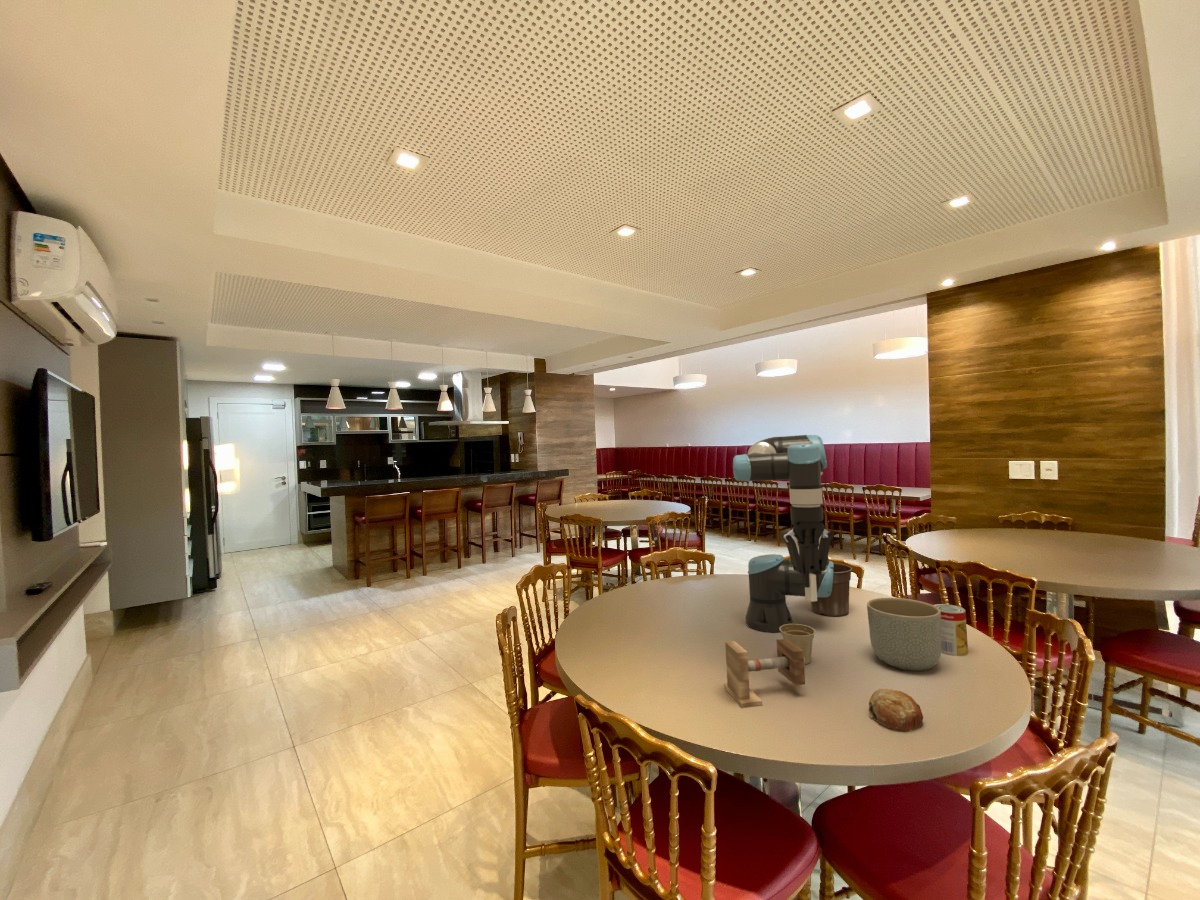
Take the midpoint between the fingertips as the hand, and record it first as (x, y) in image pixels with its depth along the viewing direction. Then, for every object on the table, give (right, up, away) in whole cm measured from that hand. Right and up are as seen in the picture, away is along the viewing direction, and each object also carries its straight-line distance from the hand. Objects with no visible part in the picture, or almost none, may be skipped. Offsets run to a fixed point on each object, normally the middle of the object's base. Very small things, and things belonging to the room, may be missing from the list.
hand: (811, 599), depth 120 cm
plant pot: (+31, -22, +54) cm, 66 cm away
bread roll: (+11, -21, -16) cm, 29 cm away
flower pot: (+3, -22, +15) cm, 27 cm away
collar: (-5, -19, -1) cm, 20 cm away
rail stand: (-11, -22, -2) cm, 25 cm away
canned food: (+47, -20, +17) cm, 54 cm away
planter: (+30, -21, +10) cm, 38 cm away
